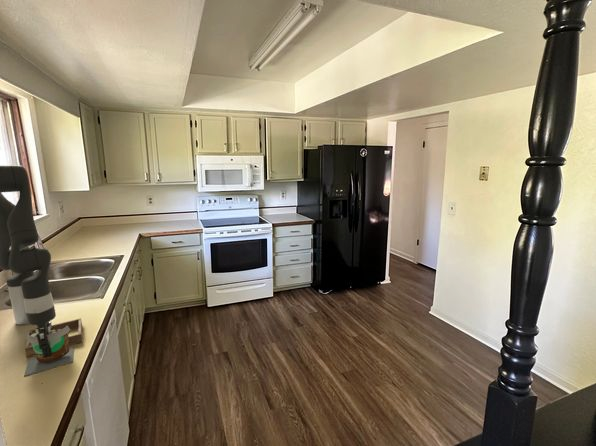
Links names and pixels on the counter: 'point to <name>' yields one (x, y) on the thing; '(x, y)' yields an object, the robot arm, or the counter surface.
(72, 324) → the frame
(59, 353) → the food container
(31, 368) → the rubber mat
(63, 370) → the counter surface
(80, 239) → the counter surface
